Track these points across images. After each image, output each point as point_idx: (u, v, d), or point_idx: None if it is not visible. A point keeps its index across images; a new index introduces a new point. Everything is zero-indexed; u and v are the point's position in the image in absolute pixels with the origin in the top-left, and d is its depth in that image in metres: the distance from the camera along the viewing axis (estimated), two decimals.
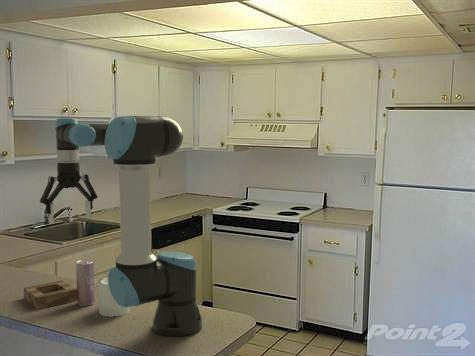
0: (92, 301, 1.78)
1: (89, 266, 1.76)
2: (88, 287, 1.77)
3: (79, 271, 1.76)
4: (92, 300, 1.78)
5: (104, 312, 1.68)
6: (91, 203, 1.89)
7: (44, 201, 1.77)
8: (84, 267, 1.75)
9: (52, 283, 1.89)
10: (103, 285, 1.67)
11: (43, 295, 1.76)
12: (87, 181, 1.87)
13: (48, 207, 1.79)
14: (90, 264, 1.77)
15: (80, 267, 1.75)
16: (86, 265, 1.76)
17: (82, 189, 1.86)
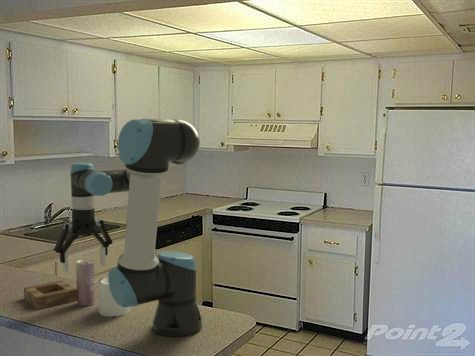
0: (92, 301, 1.78)
1: (89, 266, 1.76)
2: (88, 287, 1.77)
3: (79, 271, 1.76)
4: (92, 300, 1.78)
5: (104, 312, 1.68)
6: (106, 249, 1.83)
7: (58, 250, 1.71)
8: (84, 267, 1.75)
9: (52, 283, 1.89)
10: (103, 285, 1.67)
11: (43, 295, 1.76)
12: (102, 227, 1.80)
13: (62, 256, 1.72)
14: (90, 264, 1.77)
15: (80, 267, 1.75)
16: (86, 265, 1.76)
17: (97, 235, 1.79)
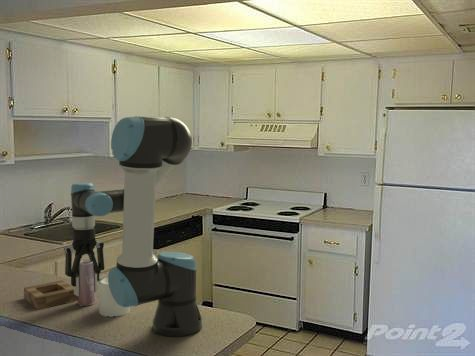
0: (92, 301, 1.78)
1: (89, 266, 1.76)
2: (88, 287, 1.77)
3: (79, 271, 1.76)
4: (92, 300, 1.78)
5: (104, 312, 1.68)
6: (98, 275, 1.81)
7: (69, 274, 1.74)
8: (84, 267, 1.75)
9: (52, 283, 1.89)
10: (103, 285, 1.67)
11: (43, 295, 1.76)
12: (101, 250, 1.80)
13: (73, 279, 1.75)
14: (90, 264, 1.77)
15: (80, 267, 1.75)
16: (86, 265, 1.76)
17: (93, 258, 1.79)
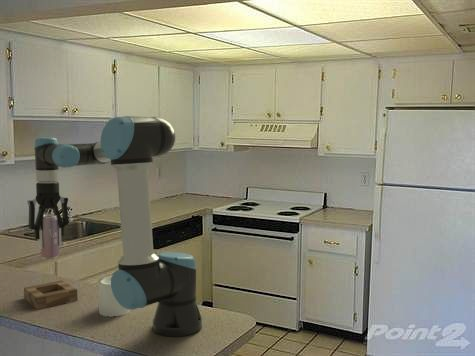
0: (56, 254, 1.81)
1: (52, 219, 1.79)
2: (51, 240, 1.79)
3: (42, 224, 1.78)
4: (56, 253, 1.81)
5: (104, 312, 1.68)
6: (62, 230, 1.84)
7: (32, 226, 1.76)
8: (47, 220, 1.78)
9: (52, 283, 1.89)
10: (103, 285, 1.67)
11: (43, 295, 1.76)
12: (65, 204, 1.83)
13: (37, 232, 1.78)
14: (53, 218, 1.79)
15: (43, 220, 1.78)
16: (49, 218, 1.78)
17: (57, 212, 1.81)
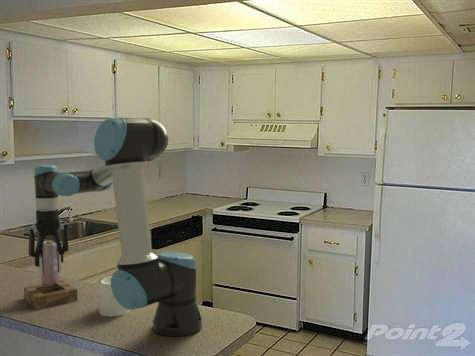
0: (56, 281, 1.82)
1: (52, 247, 1.80)
2: (51, 267, 1.80)
3: (42, 251, 1.79)
4: (55, 280, 1.82)
5: (104, 312, 1.68)
6: (62, 256, 1.85)
7: (32, 254, 1.77)
8: (47, 247, 1.79)
9: None
10: (103, 285, 1.67)
11: (43, 295, 1.76)
12: (64, 231, 1.84)
13: (37, 260, 1.79)
14: (53, 245, 1.80)
15: (43, 247, 1.79)
16: (49, 246, 1.79)
17: (57, 239, 1.82)
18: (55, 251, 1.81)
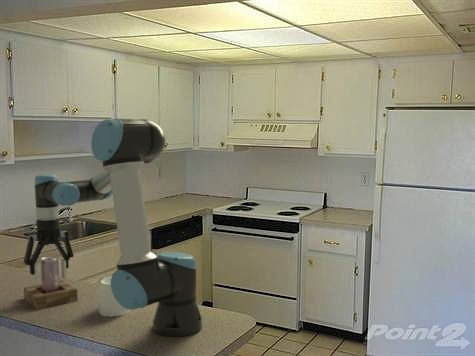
0: None
1: (53, 263, 1.80)
2: (52, 283, 1.81)
3: (43, 268, 1.80)
4: None
5: (104, 312, 1.68)
6: (67, 262, 1.86)
7: (28, 262, 1.76)
8: (48, 264, 1.79)
9: None
10: (103, 285, 1.67)
11: (43, 295, 1.76)
12: (66, 238, 1.84)
13: (32, 268, 1.78)
14: (54, 261, 1.81)
15: (44, 263, 1.79)
16: (50, 262, 1.80)
17: (60, 247, 1.83)
18: (56, 267, 1.81)
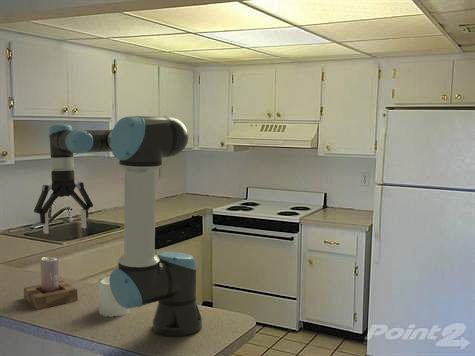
0: None
1: (53, 263, 1.80)
2: (52, 283, 1.81)
3: (43, 268, 1.80)
4: None
5: (104, 312, 1.68)
6: (87, 212, 1.84)
7: (38, 210, 1.72)
8: (48, 264, 1.79)
9: None
10: (103, 285, 1.67)
11: (43, 295, 1.76)
12: (82, 189, 1.82)
13: (42, 217, 1.73)
14: (54, 261, 1.81)
15: (44, 263, 1.79)
16: (50, 262, 1.80)
17: (77, 197, 1.81)
18: (56, 267, 1.81)
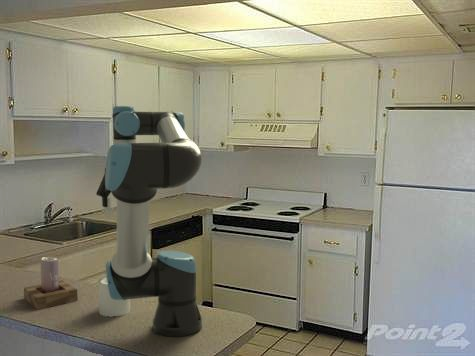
0: None
1: (53, 263, 1.80)
2: (52, 283, 1.81)
3: (43, 268, 1.80)
4: None
5: (104, 312, 1.68)
6: None
7: (101, 193, 1.68)
8: (48, 264, 1.79)
9: None
10: (103, 285, 1.67)
11: (43, 295, 1.76)
12: None
13: (105, 200, 1.70)
14: (54, 261, 1.81)
15: (44, 263, 1.79)
16: (50, 262, 1.80)
17: None
18: (56, 267, 1.81)
